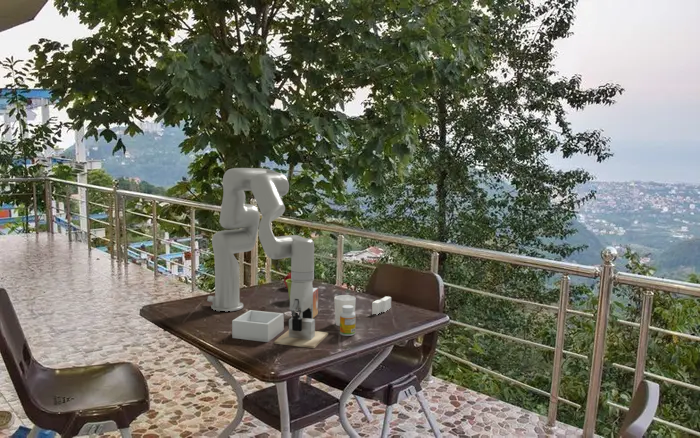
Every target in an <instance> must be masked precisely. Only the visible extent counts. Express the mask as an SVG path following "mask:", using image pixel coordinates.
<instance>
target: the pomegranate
mask: <svg viewBox="0 0 700 438" xmlns="http://www.w3.org/2000/svg"><path fill="white" fill-rule="evenodd" d="M287 279H291V272H287V273H286V275H285V277H284V280H283V283H284V285H285V288H286V289H288V286H287V282H286V280H287Z"/></svg>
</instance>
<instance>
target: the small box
mask: <svg viewBox="0 0 700 438" xmlns="http://www.w3.org/2000/svg"><path fill="white" fill-rule="evenodd" d="M298 310H301V309H298ZM318 313H319V287H313V303H312V319H315V317H316V316H317V315H319V314H318ZM301 318H303V312H302V316H301Z"/></svg>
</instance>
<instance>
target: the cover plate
mask: <svg viewBox="0 0 700 438" xmlns="http://www.w3.org/2000/svg"><path fill="white" fill-rule="evenodd" d="M301 319H302V331H293V330H292V317H291V318H289V319H288V330H287V331H286V332H284V333H283V334H282V335H281V336H279V337H278V338H277V339H275V340H274V341H273V344H277V345H285V346H292V347H299V348H300V347H301V348H307V349H308V348H309V349H310V348H311V349H315V348H316V347H317V346H318V345H319V344H320V343H321V342H322V341H324V339H326V337H327V336H328V335H329V332H328V331H327V332H326V331H318V330H317V331H316V319H315V318H313V319H309V318H301Z"/></svg>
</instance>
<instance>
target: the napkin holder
mask: <svg viewBox="0 0 700 438" xmlns="http://www.w3.org/2000/svg"><path fill="white" fill-rule="evenodd" d="M371 306H372V307H371V308H372V309H371V315H373V314H376V315H375V316H379V315H380V314H381V312H382V313H383V312H385V313H387V312H388V311H389V309H390V308H391V309H392V297H391V296H386V295H385V296H384V297H382V298H380V299H376V300H375V301H372V304H371ZM391 309H390V310H391ZM387 310H388V311H387ZM386 311H387V312H386ZM379 313H380V314H379ZM378 314H379V315H378Z"/></svg>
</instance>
